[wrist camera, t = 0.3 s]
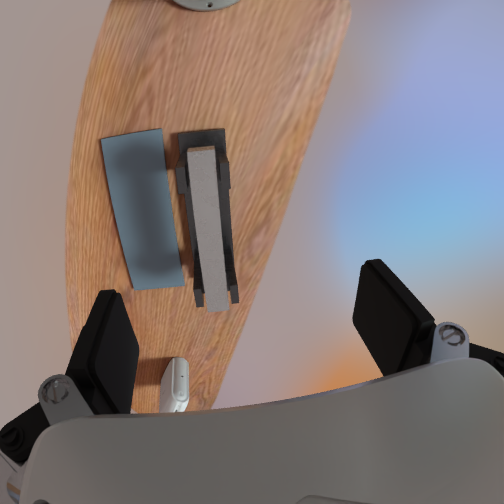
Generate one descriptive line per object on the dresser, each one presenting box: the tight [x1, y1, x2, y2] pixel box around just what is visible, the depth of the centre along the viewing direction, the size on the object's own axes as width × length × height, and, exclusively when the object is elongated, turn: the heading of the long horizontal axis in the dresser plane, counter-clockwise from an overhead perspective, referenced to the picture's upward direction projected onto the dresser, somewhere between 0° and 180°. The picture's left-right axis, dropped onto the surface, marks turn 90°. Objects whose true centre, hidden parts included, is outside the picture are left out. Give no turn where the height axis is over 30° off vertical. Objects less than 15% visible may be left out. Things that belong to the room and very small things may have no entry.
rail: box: [187, 146, 229, 312], centre depth 38 cm, size 22×3×2 cm, turn 2°
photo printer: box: [159, 357, 189, 413], centre depth 57 cm, size 10×4×12 cm, turn 152°
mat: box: [101, 129, 185, 290], centre depth 45 cm, size 26×9×1 cm, turn 2°
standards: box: [175, 129, 239, 307], centre depth 41 cm, size 24×6×11 cm, turn 2°
